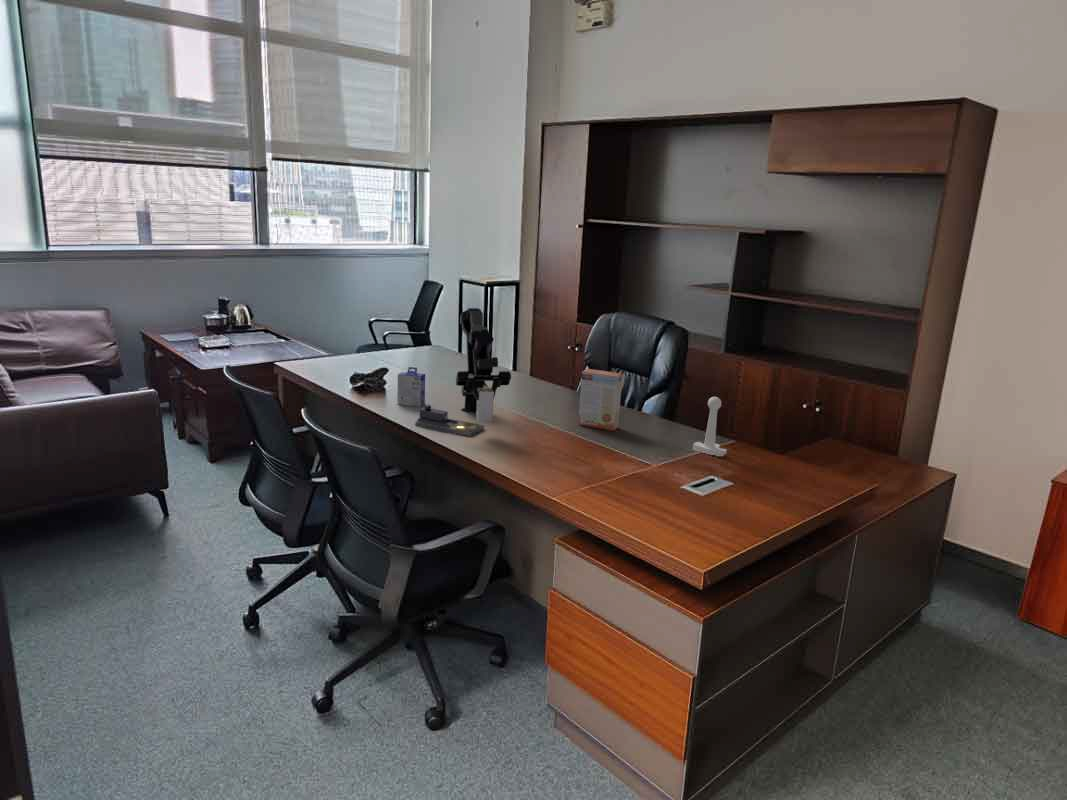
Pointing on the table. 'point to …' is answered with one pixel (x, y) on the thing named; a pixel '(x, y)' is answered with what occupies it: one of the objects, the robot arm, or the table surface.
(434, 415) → the ram
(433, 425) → the press bed
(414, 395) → the ink cartridge box
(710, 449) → the joystick
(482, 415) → the housing
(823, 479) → the table surface
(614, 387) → the cracker box
